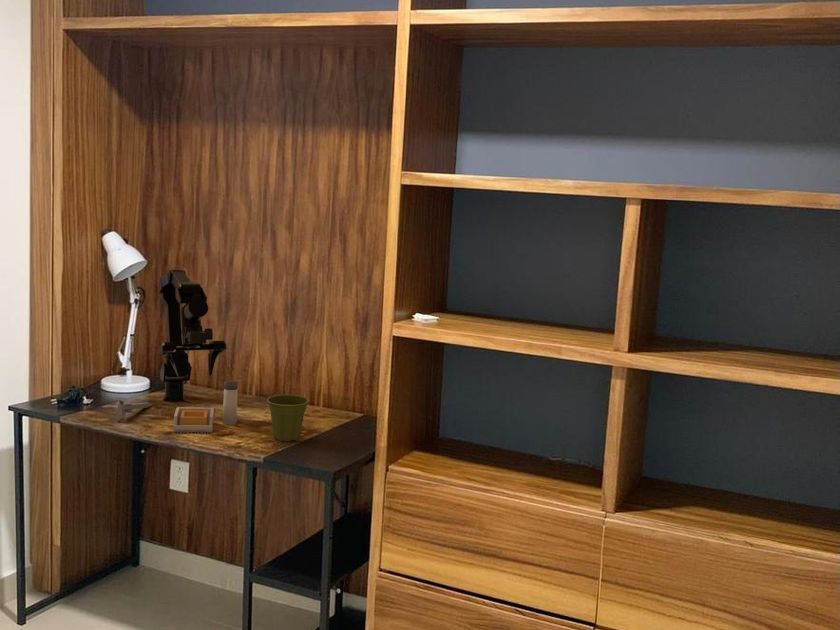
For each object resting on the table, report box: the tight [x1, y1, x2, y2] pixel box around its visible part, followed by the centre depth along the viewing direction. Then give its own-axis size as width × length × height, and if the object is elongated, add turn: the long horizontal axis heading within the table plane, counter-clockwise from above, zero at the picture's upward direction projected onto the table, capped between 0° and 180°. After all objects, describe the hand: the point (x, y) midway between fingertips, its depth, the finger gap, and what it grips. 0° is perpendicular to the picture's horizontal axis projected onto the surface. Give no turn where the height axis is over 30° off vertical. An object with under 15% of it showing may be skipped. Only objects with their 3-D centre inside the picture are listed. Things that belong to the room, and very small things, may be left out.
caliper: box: [116, 399, 153, 422], centre depth 256 cm, size 20×1×6 cm, turn 172°
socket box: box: [172, 406, 215, 434], centre depth 245 cm, size 11×11×4 cm
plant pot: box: [266, 394, 310, 442], centre depth 241 cm, size 12×12×11 cm
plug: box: [222, 379, 239, 426], centre depth 252 cm, size 4×4×12 cm
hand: (194, 376), depth 251 cm, fingers open, 9 cm apart
